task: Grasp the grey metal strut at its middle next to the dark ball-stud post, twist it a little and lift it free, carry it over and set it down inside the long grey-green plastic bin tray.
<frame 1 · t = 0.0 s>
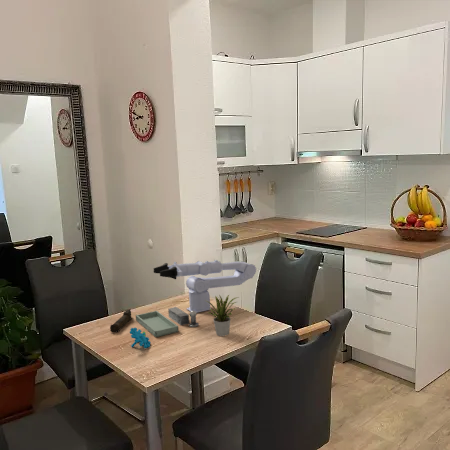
hand: (156, 272, 205), 22 cm above the table, tool horizontal, fingers open, 7 cm apart
bin tray: (156, 325, 199), on the table
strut: (178, 320, 205), on the table
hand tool: (122, 325, 203), on the table
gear: (141, 346, 178), on the table
stud post: (193, 325, 198), on the table
house plant: (225, 334, 187), on the table
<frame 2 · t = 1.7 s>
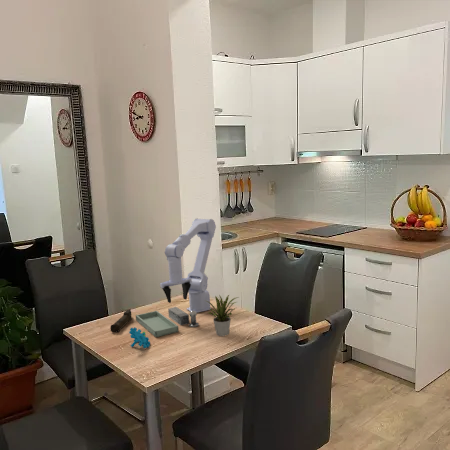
hand: (177, 300, 204), 9 cm above the table, tool pointing down, fingers open, 7 cm apart
nothing on the table moved.
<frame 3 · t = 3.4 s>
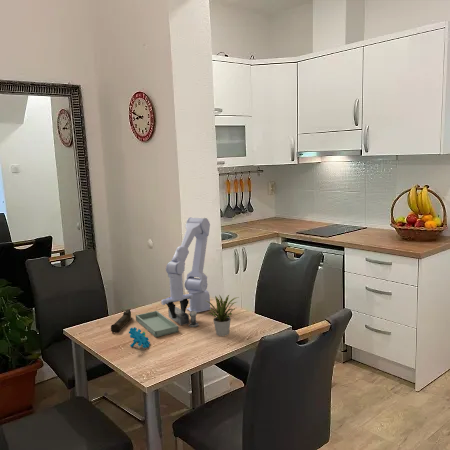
hand: (178, 316, 205), 1 cm above the table, tool pointing down, fingers closed on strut, 4 cm apart
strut: (178, 319, 205), on the table, touching gripper
everything else where it was.
when the fingers open (3 cm above the table, at t = 7.5 s): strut stays where it is, resting on bin tray.
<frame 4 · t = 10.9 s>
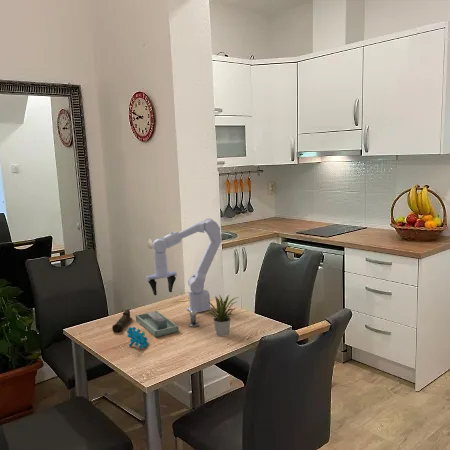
hand: (162, 293, 213), 10 cm above the table, tool pointing down, fingers open, 7 cm apart
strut: (156, 325, 199), resting on bin tray
at the end: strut inside the target area on the bin tray (2.3 cm from its centre), point 0.5 cm above the bin tray's base; the gripper is holding nothing; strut moved 11.1 cm from its start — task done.
